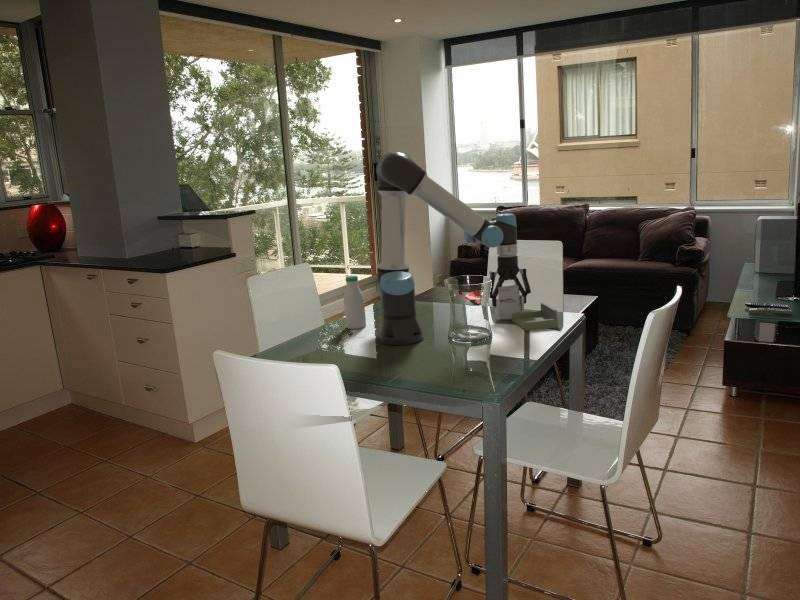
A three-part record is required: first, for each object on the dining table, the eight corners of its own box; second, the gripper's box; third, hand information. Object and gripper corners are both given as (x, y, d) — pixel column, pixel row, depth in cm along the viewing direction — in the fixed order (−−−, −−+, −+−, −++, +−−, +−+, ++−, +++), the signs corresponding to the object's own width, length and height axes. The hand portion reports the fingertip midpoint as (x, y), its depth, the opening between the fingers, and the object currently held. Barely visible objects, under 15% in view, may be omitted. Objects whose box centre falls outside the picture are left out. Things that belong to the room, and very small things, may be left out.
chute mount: (525, 331, 228) (524, 314, 227) (511, 321, 243) (511, 305, 241) (558, 327, 230) (557, 310, 228) (542, 317, 244) (542, 302, 243)
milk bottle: (365, 328, 248) (360, 277, 244) (345, 330, 248) (340, 279, 244) (366, 323, 256) (362, 273, 251) (347, 325, 256) (342, 275, 252)
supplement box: (498, 320, 246) (497, 287, 243) (501, 315, 253) (500, 283, 250) (518, 319, 244) (517, 287, 241) (520, 315, 250) (519, 282, 248)
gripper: (481, 259, 238) (484, 318, 243) (539, 253, 241) (540, 312, 246) (476, 256, 245) (479, 314, 250) (532, 251, 248) (533, 308, 253)
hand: (509, 313), depth 248 cm, fingers closed on supplement box, 9 cm apart
